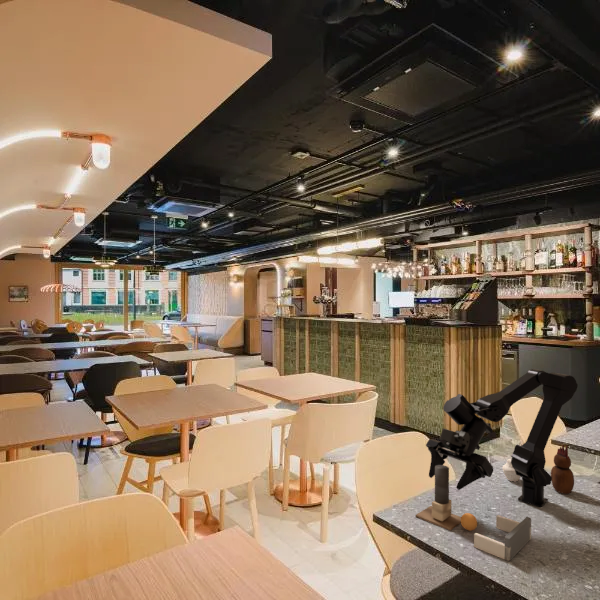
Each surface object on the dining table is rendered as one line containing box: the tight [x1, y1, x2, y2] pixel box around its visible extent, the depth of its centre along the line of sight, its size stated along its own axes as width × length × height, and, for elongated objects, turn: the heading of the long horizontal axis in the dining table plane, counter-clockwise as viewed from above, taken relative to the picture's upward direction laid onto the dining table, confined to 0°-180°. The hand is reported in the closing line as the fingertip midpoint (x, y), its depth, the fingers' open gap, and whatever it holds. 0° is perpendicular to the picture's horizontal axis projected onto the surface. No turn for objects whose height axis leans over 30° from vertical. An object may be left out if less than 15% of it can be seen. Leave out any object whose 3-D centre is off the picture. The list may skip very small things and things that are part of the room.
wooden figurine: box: [550, 444, 575, 495], centre depth 136 cm, size 7×6×15 cm
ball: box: [460, 512, 478, 532], centre depth 112 cm, size 4×4×4 cm
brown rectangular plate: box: [415, 505, 462, 531], centre depth 117 cm, size 8×10×1 cm
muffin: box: [502, 458, 521, 483], centre depth 144 cm, size 6×6×7 cm
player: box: [431, 464, 452, 521], centre depth 117 cm, size 5×4×13 cm
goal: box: [473, 514, 532, 562], centre depth 106 cm, size 14×8×5 cm, turn 134°
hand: (443, 482), depth 118 cm, fingers open, 9 cm apart
